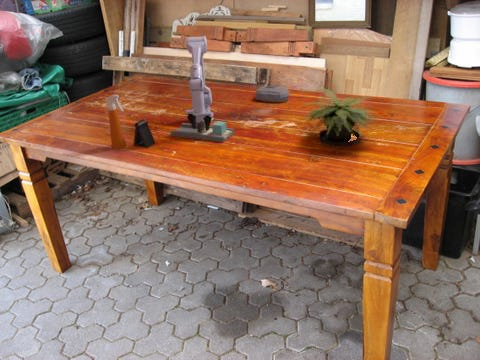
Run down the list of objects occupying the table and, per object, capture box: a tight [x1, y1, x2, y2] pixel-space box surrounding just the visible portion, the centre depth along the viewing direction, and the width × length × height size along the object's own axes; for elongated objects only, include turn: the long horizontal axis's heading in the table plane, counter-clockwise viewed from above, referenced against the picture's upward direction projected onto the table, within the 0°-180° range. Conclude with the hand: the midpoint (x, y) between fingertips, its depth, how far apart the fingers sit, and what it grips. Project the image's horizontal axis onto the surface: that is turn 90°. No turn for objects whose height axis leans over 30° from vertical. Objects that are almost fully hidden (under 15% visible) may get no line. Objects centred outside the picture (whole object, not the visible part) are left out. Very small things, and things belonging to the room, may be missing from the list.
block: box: [211, 120, 227, 135], centre depth 221 cm, size 5×5×5 cm
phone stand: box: [133, 118, 156, 149], centre depth 217 cm, size 9×6×12 cm, turn 59°
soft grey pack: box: [255, 84, 291, 104], centre depth 269 cm, size 15×8×20 cm
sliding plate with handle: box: [196, 121, 233, 139], centre depth 223 cm, size 17×9×5 cm, turn 65°
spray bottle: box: [104, 94, 128, 150], centre depth 213 cm, size 7×11×26 cm, turn 58°
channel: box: [170, 122, 235, 143], centre depth 226 cm, size 30×12×2 cm, turn 65°
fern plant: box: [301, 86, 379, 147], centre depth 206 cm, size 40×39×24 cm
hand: (201, 129), depth 226 cm, fingers open, 7 cm apart
